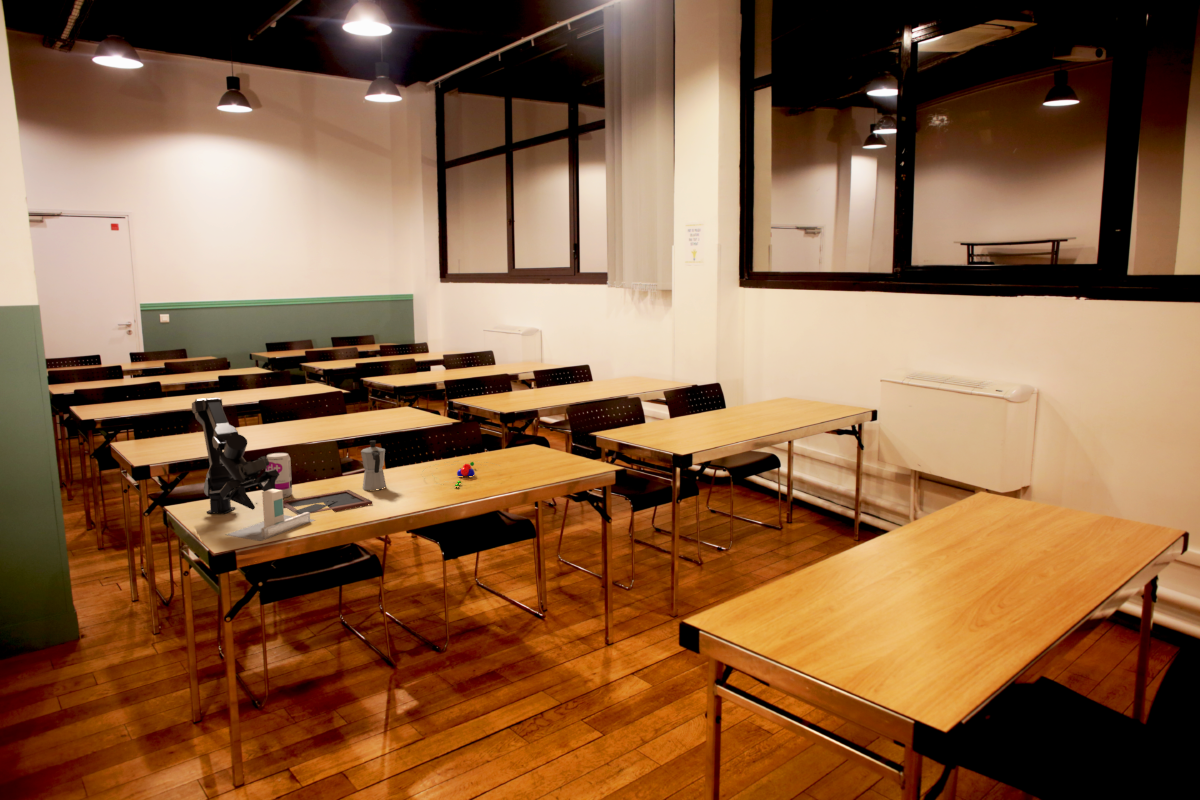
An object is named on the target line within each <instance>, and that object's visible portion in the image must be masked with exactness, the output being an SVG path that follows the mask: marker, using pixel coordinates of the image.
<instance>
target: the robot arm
mask: <svg viewBox="0 0 1200 800" xmlns="http://www.w3.org/2000/svg"><path fill="white" fill-rule="evenodd" d="M191 412H192V413H193V414H194V416H195V420H197V422H199V424H200V425H201V426H202V429H203V435H204V442H205V447H206V452H207V456H208V457H207V458H208V462H209V468H208V471H207V473H206V478H205V481H204V484H203V491H204V495H206V497H209V505H210V509H209V510H207V511H206V514H220V515H221V514H228V513H229V512H231V511H233V510H235V509H236V506H232V504H231V503H232V502H231V501H233V502H234V503H237V504H239V505H242V506H244V507H246V508H248V509H250V510H252V511H253V510H255V508H256V506H255V504H254V503H253V501H252V499H251V498H250V497H249V495H248V494H247V493H246V488H249V487H253V486H256V485H258V486H259V487H261V490H262V492H264V491H267V490H270V489H276V487H275V481H276V480H277V478H278V476H279V475H280V474H279V473H278V472H277V470H276V469H271V470H268V471H266V469H267V466H268V465H269V461H268V459H267V456H265V455H264V456H260V457H258V458H257V459H256V460H253V461H247V460H246V459H245V458H244V455H245V452H246V449H247V447H248V438H247V439H246V437H245V436H244V435H242V434H240V433H239V432H238V430H237V428H236V427H235V426H233V425H231V424H230V423H229V420H228V418H227V416H226V414H225V411H224V405H223V398H220V397H206V398H205V397H204V398H195V400H194V401H193V402H191ZM264 470H265V471H264ZM261 471H263V473H262V474H261ZM260 474H261V475H260ZM259 475H260V476H259ZM258 476H259V477H258Z"/></svg>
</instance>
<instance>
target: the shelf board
mask: <svg viewBox="0 0 1200 800" xmlns="http://www.w3.org/2000/svg"><path fill="white" fill-rule="evenodd" d="M291 517H294V516H292V515H286V514H284V520H286V519H289V518H291ZM315 521H316V519H312V518H310V522H308V523H305V524H303V525H300V526H297V527H295V528H292V529H289V530H287V531H284V532H281V533H279V534H276V535H273V536H271V537H268V538H266V539H264V538H262V531H261V528H264V520H263V521H261V522H258V523H255V524H251V525H249V526H247V527H243V528H240V529H238V530H235V531H232V532H229V533H227V534H225V536H230V537H234V538H235V537H236V538H241V539H247V540H252V541H258V542H263V541H264V540H267V539H270V538H272V537H275V536H277V535H280V534H283V533H285V532H288V531H291V530H293V529H297V528H298V527H302V526H305V525H306V524H307V525H308V524H309V523H313V522H315Z"/></svg>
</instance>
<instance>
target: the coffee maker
mask: <svg viewBox="0 0 1200 800" xmlns="http://www.w3.org/2000/svg"><path fill="white" fill-rule="evenodd" d="M376 443H377V440H369V444H370V447H366V448H363V449H362V450H361V451H360V453H361V455H360V456H361V460H362V464H363V468H364V474H363V483H362V490H364V491H366V490H376V489H382V488H384V487H386V488H387V483H386V479H385V473H384V469H383V467H384V465H385V455H386V454H385V453H386V449H385V448H382V447H378V446H376Z"/></svg>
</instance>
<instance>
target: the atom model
mask: <svg viewBox="0 0 1200 800" xmlns="http://www.w3.org/2000/svg"><path fill="white" fill-rule="evenodd" d="M454 462H459V460H458V461H454ZM475 462H476V463H477V462H479V461H478V460H477V461H475ZM475 462H474V461H470V463H463V464H462V467H461V468H460V469H457V472H456V475H457V477H458V476H464V477H467V476H473V475H474V476H475V475H476V473H475V470H474V469H473V468H472V467H474V466H475ZM446 463H449V461H448V462H447V461H446V462H445V464H446ZM485 463H488V462H485ZM491 464H493V465H494V463H492V462H491ZM435 465H438V464H434V465H430V466H429V468H430V467H432V466H435ZM453 465H454V466H455V465H456V463H455V464H452V466H453ZM478 465H481V464H478ZM495 465H496V466H499V467H501V465H499V464H495ZM446 466H449V465H448V464H447V465H446ZM484 466H487V465H486V464H484ZM436 470H437V468H436V469H435V470H434V471H436ZM424 471H425V469H423V471H422V472H424ZM421 476H422V478H423V479H424V480H426V478H424V476H423V475H421ZM474 476H473V477H474ZM432 477H434V478H435V479H436V480H437V479H438V478H437V477H435V476H434V475H433V474H432ZM445 482H447V483H448V481H446V480H445ZM451 483H452V484H454V487H455V486H459V487H460V485H459V483H461V484H462V481H461V480H458V481H456V483H455V482H451ZM457 483H458V484H457ZM435 484H438V483H437V482H436V483H435ZM440 485H441V486H442V485H443V484H442V483H440Z"/></svg>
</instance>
